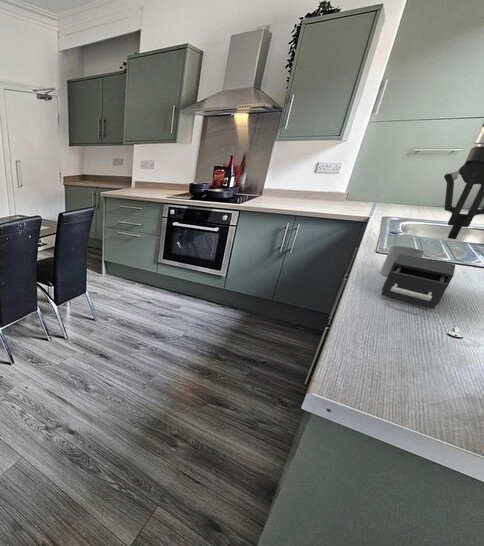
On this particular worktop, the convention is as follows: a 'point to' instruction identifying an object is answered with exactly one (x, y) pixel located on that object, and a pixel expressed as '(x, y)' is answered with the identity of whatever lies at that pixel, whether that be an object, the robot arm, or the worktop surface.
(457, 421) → the worktop surface
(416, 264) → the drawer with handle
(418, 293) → the dark pull-out drawer
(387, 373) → the worktop surface
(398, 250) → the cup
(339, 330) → the worktop surface
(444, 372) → the worktop surface
